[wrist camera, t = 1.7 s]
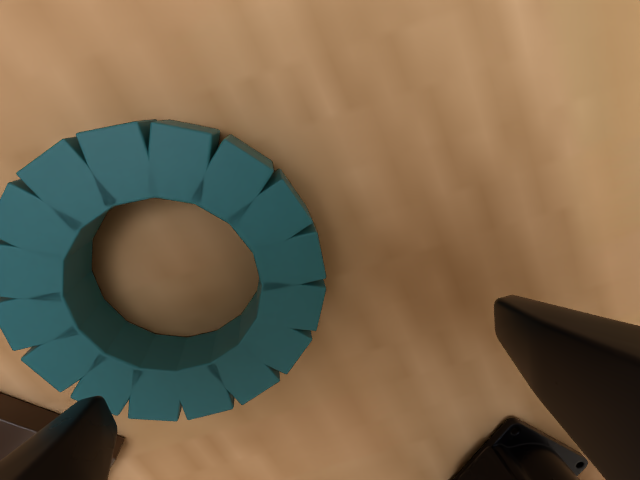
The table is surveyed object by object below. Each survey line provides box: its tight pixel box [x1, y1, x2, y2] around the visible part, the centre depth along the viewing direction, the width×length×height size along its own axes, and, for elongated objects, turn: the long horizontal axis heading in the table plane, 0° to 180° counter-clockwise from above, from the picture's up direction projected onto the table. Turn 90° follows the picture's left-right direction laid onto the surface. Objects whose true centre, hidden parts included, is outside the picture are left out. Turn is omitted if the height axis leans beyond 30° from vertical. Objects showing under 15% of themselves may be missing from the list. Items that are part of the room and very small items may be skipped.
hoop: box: [0, 119, 326, 421], centre depth 15 cm, size 11×11×2 cm
